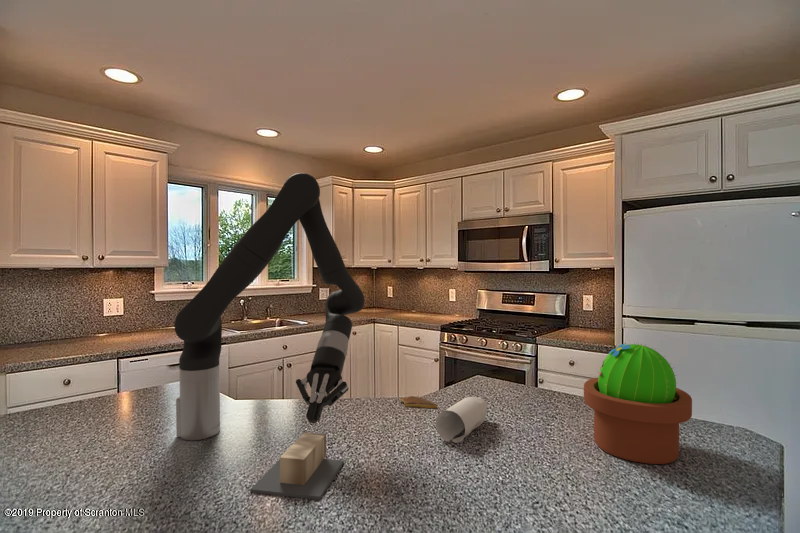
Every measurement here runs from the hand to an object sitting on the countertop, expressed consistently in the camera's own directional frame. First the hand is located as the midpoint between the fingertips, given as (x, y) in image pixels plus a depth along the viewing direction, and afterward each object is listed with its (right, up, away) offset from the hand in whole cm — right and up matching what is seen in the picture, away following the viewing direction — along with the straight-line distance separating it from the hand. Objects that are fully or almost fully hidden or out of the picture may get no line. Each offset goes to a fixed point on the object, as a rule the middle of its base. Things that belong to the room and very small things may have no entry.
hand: (312, 421), depth 91 cm
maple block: (0, -6, +2) cm, 6 cm away
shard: (+25, -9, +37) cm, 46 cm away
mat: (-1, -9, -6) cm, 11 cm away
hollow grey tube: (+36, -9, +17) cm, 40 cm away
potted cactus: (+74, -9, +7) cm, 75 cm away
